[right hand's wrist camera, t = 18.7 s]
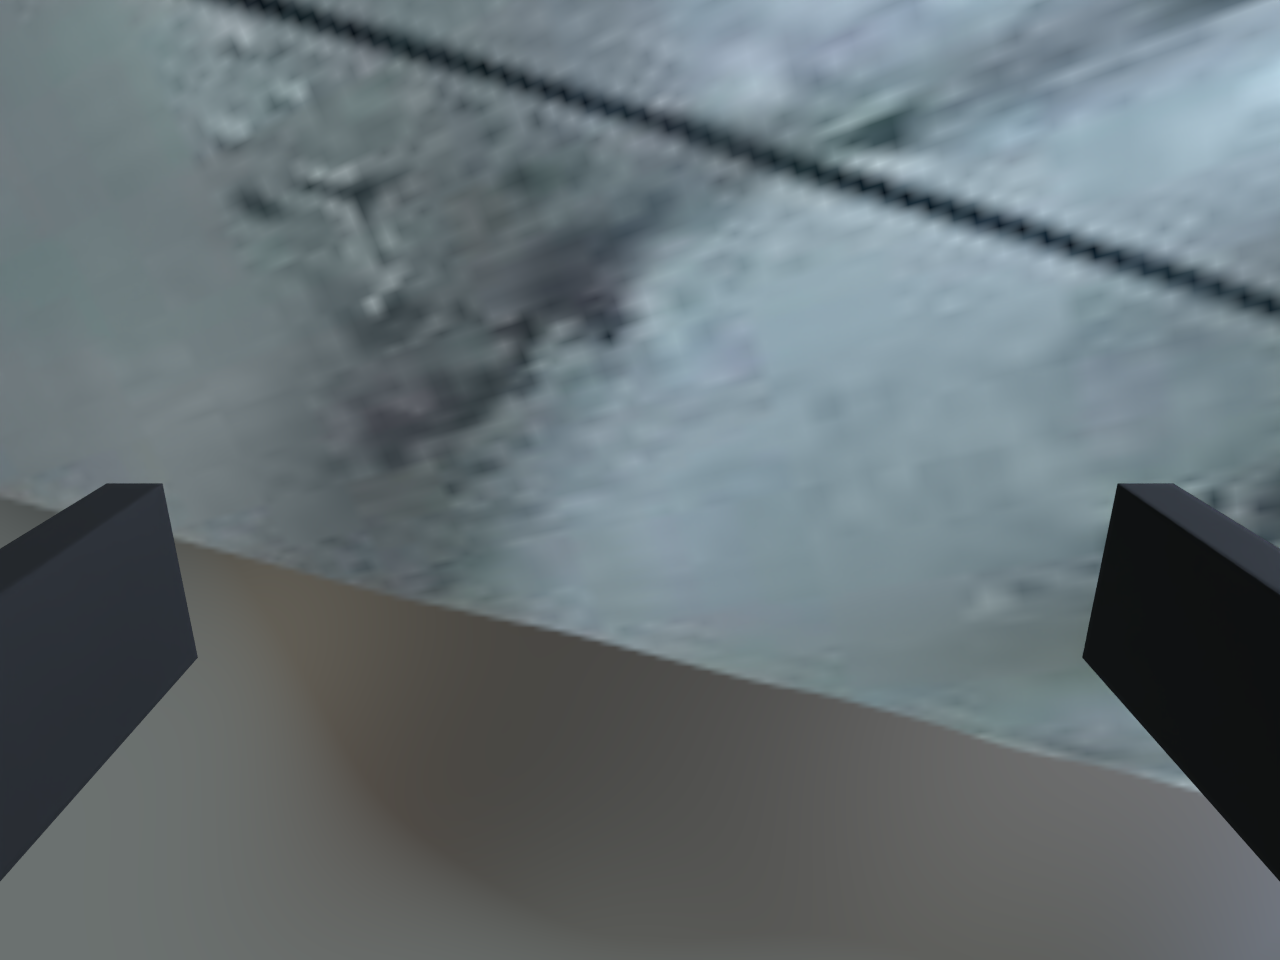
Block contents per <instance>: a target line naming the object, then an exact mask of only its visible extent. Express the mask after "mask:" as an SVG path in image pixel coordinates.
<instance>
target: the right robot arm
mask: <svg viewBox="0 0 1280 960" xmlns="http://www.w3.org/2000/svg"><path fill="white" fill-rule="evenodd" d="M197 658H198V657H197V652H196V647H195V642H194V637H193V632H192V627H191V622H190V617H189V613H188V607H187V602H186V598H185V593H184V588H183V583H182V578H181V573H180V568H179V563H178V558H177V553H176V548H175V543H174V538H173V533H172V528H171V523H170V519H169V514H168V509H167V504H166V499H165V494H164V489H163V484H105V485H104V486H102V487H100V488H99V489H97V490H95V491H94V492H92V493H90V494H89V495H87V496H86V497H84V498H82V499H81V500H79V501H77V502H76V503H74V504H73V505H71V506H69V507H68V508H66V509H64V510H63V511H61V512H60V513H58V514H56V515H55V516H53V517H51V518H50V519H48V520H46V521H45V522H43V523H42V524H40V525H38V526H37V527H35V528H33V529H32V530H30V531H29V532H27V533H25V534H24V535H22V536H20V537H19V538H17V539H16V540H14V541H12V542H11V543H9V544H7V545H6V546H4V547H2V548H1V549H0V881H1V880H2V879H3V877H4V876H5V875H6V874H7V873H8V872H9V871H10V870H11V869H12V867H13V866H14V865H15V864H16V863H17V862H18V861H19V859H20V858H21V857H22V856H23V855H24V854H25V853H26V852H27V850H28V849H29V848H30V847H31V846H32V845H33V844H34V842H35V841H36V840H37V839H38V838H39V837H40V836H41V835H42V833H43V832H44V831H45V830H46V829H47V828H48V827H49V825H50V824H51V823H52V822H53V821H54V820H55V819H56V818H57V816H58V815H59V814H60V813H61V812H62V811H63V810H64V808H65V807H66V806H67V805H68V804H69V803H70V802H71V801H72V799H73V798H74V797H75V796H76V795H77V794H78V793H79V791H80V790H81V789H82V788H83V787H84V786H85V785H86V783H87V782H88V781H89V780H90V779H91V778H92V777H93V776H94V774H95V773H96V772H97V771H98V770H99V769H100V768H101V767H102V765H103V764H104V763H105V762H106V761H107V760H108V759H109V757H110V756H111V755H112V754H113V753H114V752H115V751H116V749H117V748H118V747H119V746H120V745H121V744H122V743H123V742H124V740H125V739H126V738H127V737H128V736H129V735H130V734H131V733H132V731H133V730H134V729H135V728H136V727H137V726H138V725H139V723H140V722H141V721H142V720H143V719H144V718H145V717H146V716H147V714H148V713H149V712H150V711H151V710H152V709H153V708H154V706H155V705H156V704H157V703H158V702H159V701H160V700H161V699H162V697H163V696H164V695H165V694H166V693H167V692H168V691H169V689H170V688H171V687H172V686H173V685H174V684H175V683H176V682H177V680H178V679H179V678H180V677H181V676H182V675H183V674H184V672H185V671H186V670H187V669H188V668H189V667H190V666H191V665H192V663H193V662H194V661H195V660H196V659H197ZM1082 658H1083V659H1084V660H1085V661H1086V662H1087V663H1088V665H1089V666H1090V667H1091V668H1092V669H1093V670H1094V671H1095V672H1096V674H1097V675H1098V676H1099V677H1100V678H1101V679H1102V680H1103V682H1104V683H1105V684H1106V685H1107V686H1108V687H1109V688H1110V689H1111V691H1112V692H1113V693H1114V694H1115V695H1116V696H1117V697H1118V699H1119V700H1120V701H1121V702H1122V703H1123V704H1124V705H1125V706H1126V708H1127V709H1128V710H1129V711H1130V712H1131V713H1132V714H1133V716H1134V717H1135V718H1136V719H1137V720H1138V721H1139V722H1140V723H1141V725H1142V726H1143V727H1144V728H1145V729H1146V730H1147V731H1148V733H1149V734H1150V735H1151V736H1152V737H1153V738H1154V739H1155V740H1156V742H1157V743H1158V744H1159V745H1160V746H1161V747H1162V748H1163V750H1164V751H1165V752H1166V753H1167V754H1168V755H1169V756H1170V757H1171V759H1172V760H1173V761H1174V762H1175V763H1176V764H1177V765H1178V767H1179V768H1180V769H1181V770H1182V771H1183V772H1184V773H1185V774H1186V776H1187V777H1188V778H1189V779H1190V780H1191V781H1192V782H1193V784H1194V785H1195V786H1196V787H1197V788H1198V789H1199V790H1200V791H1201V793H1202V794H1203V795H1204V796H1205V797H1206V798H1207V799H1208V801H1209V802H1210V803H1211V804H1212V805H1213V806H1214V807H1215V808H1216V810H1217V811H1218V812H1219V813H1220V814H1221V815H1222V816H1223V818H1224V819H1225V820H1226V821H1227V822H1228V823H1229V824H1230V825H1231V827H1232V828H1233V829H1234V830H1235V831H1236V832H1237V833H1238V835H1239V836H1240V837H1241V838H1242V839H1243V840H1244V841H1245V842H1246V844H1247V845H1248V846H1249V847H1250V848H1251V849H1252V850H1253V851H1254V853H1255V854H1256V855H1257V856H1258V857H1259V858H1260V859H1261V861H1262V862H1263V863H1264V864H1265V865H1266V866H1267V867H1268V869H1269V870H1270V871H1271V872H1272V873H1273V874H1274V875H1275V876H1276V878H1277V879H1278V880H1279V881H1280V549H1279V548H1278V547H1276V546H1274V545H1273V544H1271V543H1269V542H1268V541H1266V540H1264V539H1263V538H1261V537H1260V536H1258V535H1256V534H1255V533H1253V532H1251V531H1250V530H1248V529H1247V528H1245V527H1243V526H1242V525H1240V524H1238V523H1237V522H1235V521H1234V520H1232V519H1230V518H1229V517H1227V516H1225V515H1224V514H1222V513H1220V512H1219V511H1217V510H1216V509H1214V508H1212V507H1211V506H1209V505H1207V504H1206V503H1204V502H1203V501H1201V500H1199V499H1198V498H1196V497H1194V496H1193V495H1191V494H1190V493H1188V492H1186V491H1185V490H1183V489H1181V488H1180V487H1178V486H1176V485H1175V484H1117V489H1116V494H1115V499H1114V504H1113V509H1112V514H1111V519H1110V523H1109V528H1108V533H1107V538H1106V543H1105V548H1104V553H1103V558H1102V563H1101V568H1100V573H1099V578H1098V583H1097V588H1096V593H1095V598H1094V602H1093V607H1092V612H1091V617H1090V622H1089V627H1088V632H1087V637H1086V642H1085V647H1084V652H1083V657H1082Z"/></svg>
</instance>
